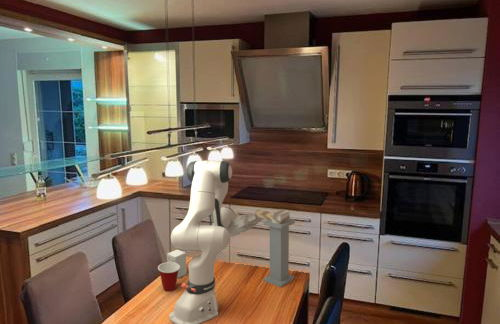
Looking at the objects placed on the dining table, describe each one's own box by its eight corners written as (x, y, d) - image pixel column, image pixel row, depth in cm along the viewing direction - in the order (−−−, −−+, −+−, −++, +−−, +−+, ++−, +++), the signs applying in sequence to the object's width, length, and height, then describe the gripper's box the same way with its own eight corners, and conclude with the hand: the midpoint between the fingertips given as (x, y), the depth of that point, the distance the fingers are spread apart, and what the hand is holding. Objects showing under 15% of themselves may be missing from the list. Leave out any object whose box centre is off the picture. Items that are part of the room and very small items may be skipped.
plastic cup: (174, 295, 176) (173, 272, 175) (154, 292, 179) (153, 269, 178) (184, 285, 187) (183, 262, 185) (165, 282, 190) (164, 260, 188)
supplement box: (178, 270, 203) (177, 249, 201) (187, 274, 198) (186, 252, 196) (167, 275, 197) (166, 253, 195) (176, 279, 193) (175, 256, 191)
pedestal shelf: (281, 287, 183) (281, 226, 178) (263, 280, 190) (263, 221, 185) (294, 278, 192) (294, 220, 187) (277, 272, 199) (277, 216, 194)
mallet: (289, 220, 187) (289, 210, 186) (280, 224, 181) (280, 214, 180) (261, 213, 199) (261, 205, 198) (252, 217, 192) (252, 208, 192)
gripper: (229, 222, 195) (246, 213, 186) (253, 213, 210) (270, 205, 202) (234, 233, 194) (251, 225, 185) (258, 223, 209) (275, 215, 200)
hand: (261, 214), depth 193 cm, fingers open, 8 cm apart
